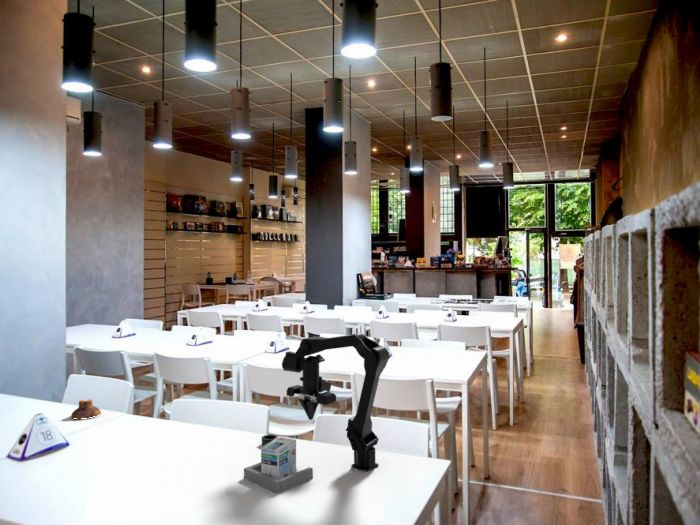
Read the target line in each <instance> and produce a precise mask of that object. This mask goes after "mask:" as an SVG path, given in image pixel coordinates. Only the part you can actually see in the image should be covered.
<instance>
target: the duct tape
mask: <svg viewBox="0 0 700 525" xmlns="http://www.w3.org/2000/svg"><path fill="white" fill-rule="evenodd" d="M278 437H279V436H278V435H276V434H264V435H262V436H261V447H263V446H264V445H266V444H268V443H269V442H271V441H273V440H274V439H276V438H278Z"/></svg>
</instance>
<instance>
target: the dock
mask: <svg viewBox="0 0 700 525" xmlns="http://www.w3.org/2000/svg"><path fill="white" fill-rule="evenodd" d="M313 469H314V468H312V467H310V466H308V467H306V468H305V469H302V470H299V471H296V473H294V474H291V475H289V476H286V477H284V478H281V479H279V480H277V479H275V478H272V477H270V476H268V475H265V474H263V473H261V461H260V462H258V463H255V464H252V465H250V466H247V467H244V468H243V479H245V480H247V481H249V482H251V481H252V483H254V484H256V485H258V486H261V487H262V486H263V488H265V489H267V490H270V491H272V492H273V491H274V493H276V494H279V493H281V492H283V491H286V490H288V489H290V488H293V487H296V486H298V485H301V484H302V483H304V482H307V481H310V480H312V479H313V478H314V474H313V473H314V470H313Z"/></svg>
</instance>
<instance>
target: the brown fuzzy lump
mask: <svg viewBox="0 0 700 525" xmlns="http://www.w3.org/2000/svg"><path fill="white" fill-rule="evenodd" d="M99 414H102V411H101V409H100V408H99V407H97V406H94V405H93V400H92V399H91V398H89V399H88V400H84V399H81V400H79V401H78V407H77V408H76V409H75V410H73V411H72V413H71V415H70V418H71V417H72V418H77V419H81V418H89V417H93V416H97V415H99ZM72 418H71V419H72Z"/></svg>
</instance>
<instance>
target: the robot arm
mask: <svg viewBox="0 0 700 525" xmlns="http://www.w3.org/2000/svg"><path fill="white" fill-rule="evenodd" d="M351 347H353V348H354V349H355V350H356V352H357V353H358V356H360V357H361V358H362V359H363V368H364V373H365V375H364V378H363V383H362V389H361V391H360V395H359V396H360V397H359V402H358V406H357V410H356V414H355V415H354V416H353V415H352V417H349V418H348V420H347V427H346V429H345V432H346V438H347V439H348V442H349V443H350V447H351V449H352V451H353V463H352V464H351V467H353V468H355V469H358V470H360V471H364V472H368V471H371V470H372V469H376V468H377V467H379V463H377V462H376V448H375V447H374V446H376V445H378V442H379V440H380V439H379V437H378V436H377V434H376V433H374V431H373V422H372V417H371V416H372V410H373V408H374V403H375V399H376V394H377V390H378V386H379V382H380V377H381V375H382V373H383V371H384V370H385V368H386V367H387V364H388V361H389V359H390V352H389V351H388V349H387V347H385V346H382V345H381V344H379V343H378V342H377V341H375V340H373V339H371V338H369V337H368V336H366V334H364V333H362V332H358V333H353V334H346V335H339V336H334V337H324V336H311V337H306V338H303V339H301V341H300V343H299V347H298V348H297V350H296V351H295V352H293V351H286V352H285V356H284V357H283V359H282V361H281V368H282V370H283V371H285V372H293V373H297V374H298V373H299V374H300V373H301V372H302V376H301V377H299V381H301V382H302V385H299V384H297V385H292V386H288V387H287V389H286V396H287V397H291V398H292V397H294V396H295V394H296V395H299V398H298V399H297V401H298V402H299V403H300V405H301V407H302V408H303V410H304V412H305V414H306V417H307V418H308V420H310V421H312V420H313V419H314V417H315V414H316V411H317V408H318V407H319V405H323V406H324V405H325V406H326V405H330V404H333V403H336V402H337V394H336V393H334V392H331V388H332V383H331V382H328V381H325V380H323V377H322V376H320V364H321V363H323V362H325V361H326V359H325V358H324V357H323V356H322V354H318V353H320V352H324V351H326V350H333V349H341V348H343V349H344V348H351ZM314 354H316V355H315V356H314Z"/></svg>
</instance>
